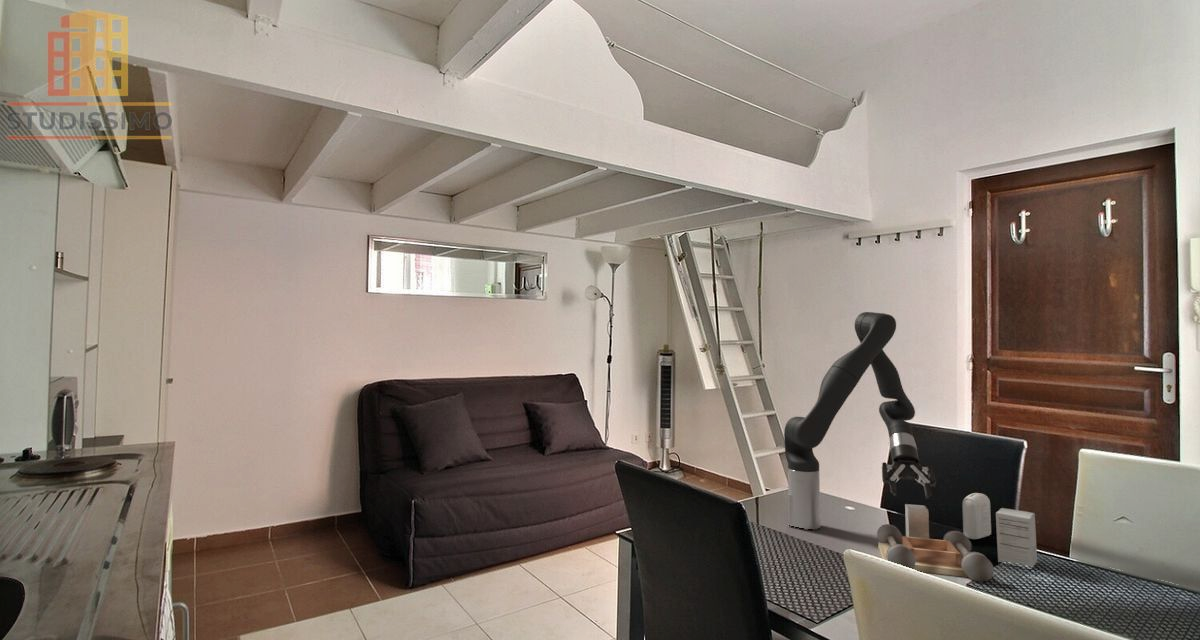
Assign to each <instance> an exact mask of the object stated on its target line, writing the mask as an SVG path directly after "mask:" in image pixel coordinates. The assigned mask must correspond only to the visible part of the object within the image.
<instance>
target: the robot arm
mask: <svg viewBox="0 0 1200 640" xmlns="http://www.w3.org/2000/svg"><path fill="white" fill-rule="evenodd" d="M896 329H897V320H896V318H895V317H894V316H893V315H891V314H888V313H884V312H883V313H882V312H881V313H880V312H872V311H871V312H870V311H864V312H861V313H859V314H858V315H857V316H856V318H855V321H854V331H855V333H856V336H857V339H858V340H859V345H857V346H856V347H855V348H853V349H852V350H851V351H849V352H847V353H846V354H844V355H842V356H841V357H840V358H838V359H837V360H835V361H834V363H832V365H831V366H830V368H829V369H828V370H827V372H826V373H825V375H824V376H823V378H822V380H821V384H820V387H819V391H818V398H817V400H816V402H815V404H814V406H813V407H812V408H811V410H810V411H809V412H808V414H807V415H806V416H805V417H804V416H793V417H791V418H789V419H788V420H787V422H786V423H785V427H784V434H783V436H784V437H783V439H784V454H785V459H786V462H787V473H788V474H787V475H788V477H787V479H788V480H787V481H788V482H787V483H788V484H787V485H788V486H787V487H788V488H787V490H788V495H787V499H788V500H787V501H788V502H787V504H788V509H787V510H788V515H787V516H788V526H789V525H794V526H796V527H799V528H804V529H803V530H808V529H813V530H817V529H818V528H819V529H820V528H821V494H820V493H821V491H820V490H821V489H820V488H821V487H820V480H821V479H820V462H819V460H818V458H817V457H816V456H815V453H814V450H813V449H814V448H816V447H817V446H819V445H820V444H821V443H822V442H823V440H824V438H825V436H826V435H827V433H828V431H829V429H830V427H831V425H832V423H833V421H834V420H835V418H836V416H837V414H838V413H839V411H840V410H841V408H842V407H843V405H844V404H845V402H846V401H847V399H848V398H849V397H850V395H851V394H852V392H853V391H854V390H855V387H857V385H858V383H859V382H860V380H861V378H862V377H863V376H864V374H865V373H866V371H867V370H868V368H869V367H870V366H871V369H872V371H873V373H874V376H875V379H876V384H877V386H878V391H879V394H880V396H881V397H882V398H885V399H889V400H888V401H883V402H882V403H880V405H879V407H878V413H879V415H880V417H881V419H882V421H883V422H884V423H885V427H886V428H887V431H888V432H887V433H888V437H889V452H890V456H891V462H892V464H887V463H886V462H882V464H881V476H882V478H881V479H882V482H883V484H888V485H889V488H890V493H891V495H892V494H893V496H895V497H896V496H897V494H898V489H897V482H898V481H899V480H900V479H901V480H909V481H914V480H915V481H916V482H917V483H919V484H921V485H922V486H923V489H924V495H925V499H930V497H932V489H931V487H933V488H935V487H936V484H937V478H936V474H935V471H934V468H933V466H932V465H931V464H929V465H927V466H922V465H921V463H920V459H919V453H918V448H917V444H916V441H915V437H914V432H913V428H912V427H913V426H912V425H911V424H910V422H907V421H911V420H912V419H914V417H915V415H916V410H915V407H914V405H913V403H912V402H911V400H910V399H909V397H908V395H907V394H906V392H905V390H904V387H903V385H902V381H901V376H900V373H899V372H898V369H897V367H896V366H895V365H894V363H893V362H892V360H891V359H890V357H888V355H887V354H886V352H885V351H884V348H885V347H886V346H887V344H888V343H889V342H890V340H891V339H892V338H893V336H895V335H894V334H895V333H896V331H897V330H896ZM890 399H891V400H890ZM892 399H893V400H892ZM890 470H891V471H892V472H893V474H892V476H890V477H889V476H888V472H890ZM923 473H924V474H925V475H926V476H928V478H927V477H926V476H925V475H924V474H923ZM799 528H798V529H799Z"/></svg>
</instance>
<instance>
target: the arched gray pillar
mask: <svg viewBox="0 0 1200 640" xmlns="http://www.w3.org/2000/svg"><path fill="white" fill-rule="evenodd" d="M991 521H992V519H991V501H990V498H989V497H988V496H987V495H986V494H984V493H979V492H974V493H973V492H972V493H970V494H968V495H967V496H965V497H964V498H963V500H962V530H963V532H962V533H963V534H964V535H965V536H966V537H967V538H968V539H969V540H970V539H971V540H979V539H982V538H986V537H989V536H990V535H992V522H991Z"/></svg>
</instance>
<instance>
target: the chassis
mask: <svg viewBox="0 0 1200 640" xmlns="http://www.w3.org/2000/svg"><path fill="white" fill-rule="evenodd" d="M876 535H877V536H876V537H877V538H878V541H879V542H878V543H877V544H878V550H879V553H880V555H881V557H882V560H883V559H885V560H888V561H891V562H894V563H897V564H901V565H903V566H906V567H909V568H912V569H915V570H918V571H917V572H920V571H922V572H923V573H928V574H929V573H931V574H936V575H937V574H938V575H944V576H945V575H948V576H954V577H964V578H969V579H971V580H972V581H974V582H976V583H977V582H978V583H983V581H985V582H988V581H989V579H991V580H992V577H993V576H994V572H995V570H994V569H995V568H994V565H993V563H992V562H991V561H990V559H988V558H987V556H985V555H984V554H983V553H980V552H977V551H971V550H972V542H971V541H970V538H967V537H966V536H965V535H964V533H963V532H961V531H959V530H950V531H947V532H946V533H945V534H944V536H943V539H935V538H929V539H928V538H918V537H908V536H906V535H903V534H902V533H901V531H900V529H899V528H897V526H895V525H892V524H891V523H890V524H889V523H886V524H883V525H880V526H879V528H878V529H877V531H876ZM922 572H921V573H922Z"/></svg>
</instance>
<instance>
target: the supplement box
mask: <svg viewBox="0 0 1200 640" xmlns="http://www.w3.org/2000/svg"><path fill="white" fill-rule="evenodd" d="M1035 516H1036V514H1035V513H1034V512H1030V511H1025V510H1017V509H1011V508H1005V507H1001V508H999V510H998V511H996V512H995V521H996V523H995V526H996V545H997V546H996V547H997V563H999V562H1011V563H1018V564H1023V565H1028V566H1034V564H1035V563H1036V561H1037V562H1038V553H1037V551H1038V550H1037V549H1038V547H1037V536H1036V535H1037V533H1036V531H1037V530H1036V517H1035Z"/></svg>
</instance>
